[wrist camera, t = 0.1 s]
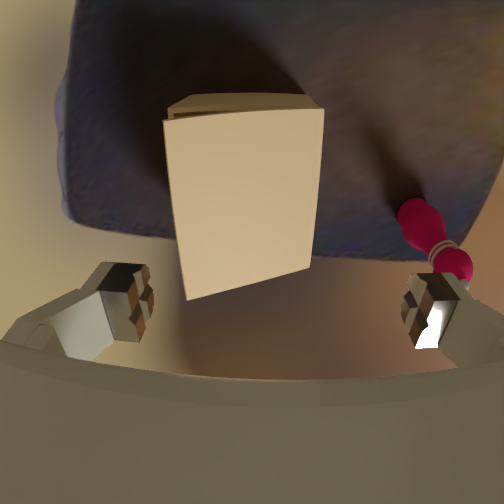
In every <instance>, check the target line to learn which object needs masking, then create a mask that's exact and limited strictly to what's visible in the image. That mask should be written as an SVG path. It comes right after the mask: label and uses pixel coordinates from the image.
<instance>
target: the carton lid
mask: <svg viewBox="0 0 504 504" xmlns="http://www.w3.org/2000/svg"><path fill="white" fill-rule="evenodd" d="M323 123H324V109H323V108H281V109H261V110H246V111H233V112H222V113H212V114H203V115H195V116H187V117H180V118H172V119H166V120H163V131H164V142H165V152H166V162H167V171H168V180H169V188H170V196H171V204H172V212H173V219H174V226H175V234H176V240H177V247H178V253H179V260H180V266H181V272H182V278H183V284H184V290H185V296H186V299H187V300H191V299H195V298H199V297H203V296H207V295H210V294H214V293H218V292H222V291H226V290H229V289H233V288H237V287H240V286H244V285H248V284H252V283H255V282H259V281H263V280H266V279H270V278H274V277H277V276H281V275H284V274H288V273H292V272H295V271H299V270H302V269H306V268H309V267H310V260H311V252H312V243H313V235H314V226H315V216H316V207H317V197H318V186H319V175H320V164H321V151H322V138H323Z"/></svg>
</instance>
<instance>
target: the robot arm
mask: <svg viewBox="0 0 504 504" xmlns="http://www.w3.org/2000/svg"><path fill="white" fill-rule="evenodd" d="M149 279H150V272H149V268H148V266H147V265H145V264H131V263H116V262H101V263H100V264H99V266H98V267H97V268H96V269H95V271H94V272H93V273H92V274H91V276H90V277H89V278H88V280H87V281H86V282H85V284H84V285H83V286H82V288H81V289H75V290H73V291H71V292H69V293H67V294H65V295H63V296H61V297H59V298H57V299H55V300H53V301H51V302H49V303H47V304H45V305H43V306H41V307H39V308H37V309H35V310H33V311H31V312H29V313H28V314H25V315H23V316H21V317H20V318H18V319H17V320H16V321H15V322H14V324H13V325H12V326H11V328H10V329H9V330H8V332H7V333H6V334H5V335H4V337H3V338H2V339H1V340H0V504H504V315H502V314H501V313H499V312H497V311H495V310H494V309H492V308H490V307H489V306H487V305H485V304H484V303H482V302H480V301H478V300H474V299H473V298H472V297H471V295H470V294H469V293H468V291H467V290H466V289H465V288H464V286H463V285H462V284H461V282H460V281H459V280H458V279H457V277H456V276H455V275H454V274H452V273H414V274H412V275H411V276H410V278H409V280H408V283H407V286H408V288H409V291H408V292H407V293H406V294H405V295H404V296H403V300H402V303H401V317H402V321H403V323H404V325H406V326H407V327H409V328H410V332H409V336H410V338H411V340H412V342H413V345H414V347H415V348H429V347H437V348H438V349H439V350H440V351H441V352H442V353H443V354H444V355H445V356H446V357H447V358H448V359H450V360H451V361H452V362H453V363H454V364H455V365H456V366H457V367H458V368H455V369H448V370H441V371H434V372H426V373H418V374H409V375H397V376H386V377H372V378H355V379H332V380H258V379H236V378H235V379H234V378H218V377H206V376H194V375H183V374H174V373H165V372H156V371H149V370H141V369H134V368H128V367H121V366H115V365H109V364H103V363H97V362H92V361H91V360H92V359H93V358H95V357H96V356H97V355H98V354H100V353H101V352H102V351H103V350H104V349H106V348H107V347H108V346H109V345H111V344H112V343H113V342H114V340H118V341H128V342H138V343H139V342H140V340H141V338H142V336H143V334H144V331H145V329H146V326H145V321H147V320H148V319H149V318H150V317H151V315H152V312H153V307H154V294H153V289H152V288H151V287H150V286H149V285H148V281H149Z"/></svg>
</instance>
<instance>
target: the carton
mask: <svg viewBox="0 0 504 504" xmlns="http://www.w3.org/2000/svg"><path fill="white" fill-rule="evenodd" d="M281 108H319V107H318V106H317V105H316V104H315V103H314V102H313V101H312V100H311V99H310V98H309V97H308V96H307V95H306V94H286V93H214V94H194V95H190V96H188V97H186V98H184V99H183V100H181V101H179V102H177V103H176V104H174V105H172V106H171V107H169V108H168V119H172V118H180V117H187V116H195V115H203V114H212V113H222V112H233V111H246V110H261V109H281Z"/></svg>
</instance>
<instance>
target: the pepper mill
mask: <svg viewBox="0 0 504 504" xmlns="http://www.w3.org/2000/svg"><path fill="white" fill-rule="evenodd" d="M397 217H398V222H399V224H400V226H401V227H402V232H403V235H404V237H405V239H406V240H407V241H408V243H409V244H410V245H412V246H413V247H414V248H416V249H419V250H421V251H424V252H425V253H426V254H427V256H428V262H429V265H430V266H431V268H432V270H433V273H452V274H454V275H455V276H456V277H457V279H458V280H459V281H460V282H461V284H462V285H463V286H464V288H465V289H466V290H467V291H468V289H469V281H470V280H471V277H472V274H473V264H472V261H471V259H470V257H469V255H468V254H467V253H466V252H465V251H463V250H461V249H459V248H458V247H457V245H456V244H455V243H454V242H453V241H450V240H448V238H447V236H446V232H445V224H444V221H443V218H442V216H441V215H440V213H439V212H438V211H437V210H436V209H435V208H434V207H431V206H429V205H428V203H427V202H426V201H425V200H423V199H421V198H411V199H409V200H407V201H406V202H404V203H403V204H402V205H401V207H400V209H399V211H398V216H397Z"/></svg>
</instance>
